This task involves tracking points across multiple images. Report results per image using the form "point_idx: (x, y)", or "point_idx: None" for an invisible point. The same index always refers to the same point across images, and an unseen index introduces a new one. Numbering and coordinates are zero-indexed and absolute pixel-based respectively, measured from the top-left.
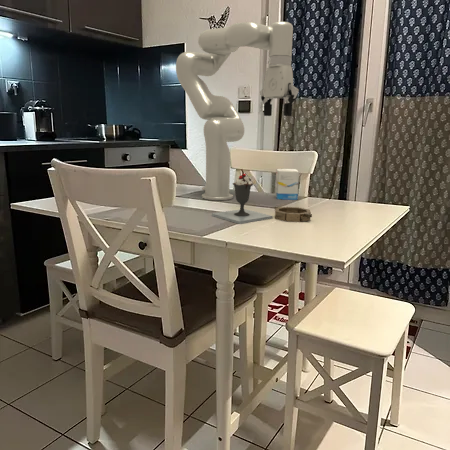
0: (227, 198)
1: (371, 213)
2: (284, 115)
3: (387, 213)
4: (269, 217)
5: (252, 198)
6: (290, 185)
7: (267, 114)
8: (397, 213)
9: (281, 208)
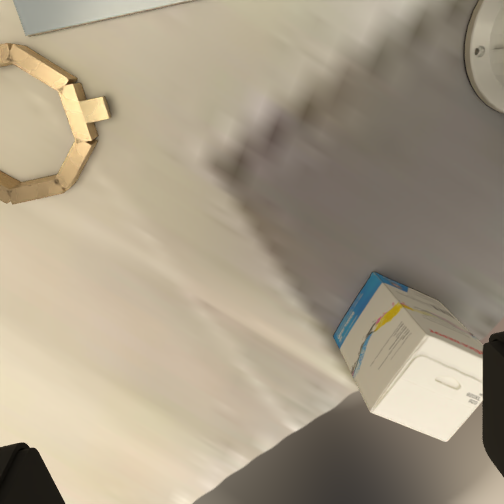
0: (467, 55)
1: (34, 422)
2: (13, 444)
3: None
4: (20, 15)
5: (443, 190)
6: (365, 343)
7: (492, 389)
8: None
9: (63, 106)
